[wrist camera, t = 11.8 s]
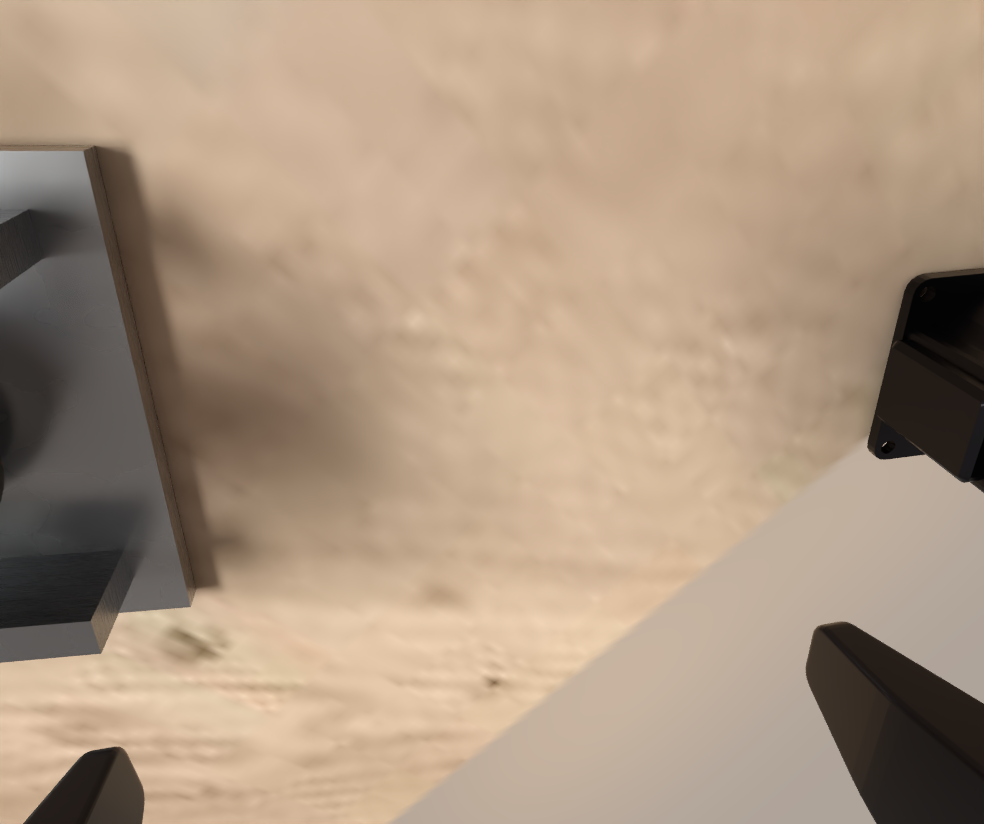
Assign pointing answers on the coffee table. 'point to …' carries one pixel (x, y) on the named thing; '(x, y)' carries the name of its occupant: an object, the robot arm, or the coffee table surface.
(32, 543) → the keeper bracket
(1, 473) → the beverage can
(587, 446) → the coffee table surface
